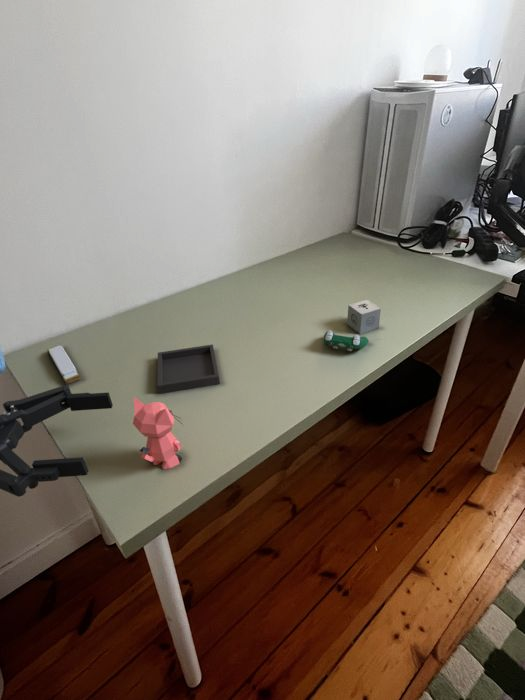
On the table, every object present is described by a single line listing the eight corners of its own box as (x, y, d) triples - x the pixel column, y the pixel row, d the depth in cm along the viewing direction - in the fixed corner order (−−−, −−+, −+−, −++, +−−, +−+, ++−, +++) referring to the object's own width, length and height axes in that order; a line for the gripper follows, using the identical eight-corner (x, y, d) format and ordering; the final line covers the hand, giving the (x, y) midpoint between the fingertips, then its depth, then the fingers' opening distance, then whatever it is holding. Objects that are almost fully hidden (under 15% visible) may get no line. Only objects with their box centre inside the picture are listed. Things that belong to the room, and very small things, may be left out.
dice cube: (365, 318, 101) (366, 299, 98) (378, 328, 97) (380, 308, 95) (347, 324, 100) (348, 304, 97) (360, 334, 96) (361, 314, 93)
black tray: (159, 393, 82) (157, 386, 81) (159, 359, 91) (157, 352, 90) (220, 384, 83) (219, 376, 82) (213, 351, 93) (212, 344, 92)
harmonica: (48, 354, 95) (45, 346, 94) (62, 349, 97) (59, 341, 96) (65, 386, 85) (62, 378, 84) (81, 380, 87) (78, 372, 86)
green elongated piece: (323, 348, 95) (318, 342, 89) (327, 332, 95) (322, 325, 90) (365, 356, 92) (363, 350, 86) (369, 338, 92) (367, 332, 87)
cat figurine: (195, 453, 69) (184, 395, 62) (167, 485, 64) (151, 425, 57) (161, 439, 72) (147, 382, 65) (132, 468, 67) (113, 409, 60)
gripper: (2, 403, 76) (123, 395, 76) (-87, 531, 55) (79, 520, 55) (-15, 369, 72) (113, 361, 72) (-118, 494, 51) (61, 482, 51)
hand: (99, 430), depth 64 cm, fingers open, 13 cm apart
